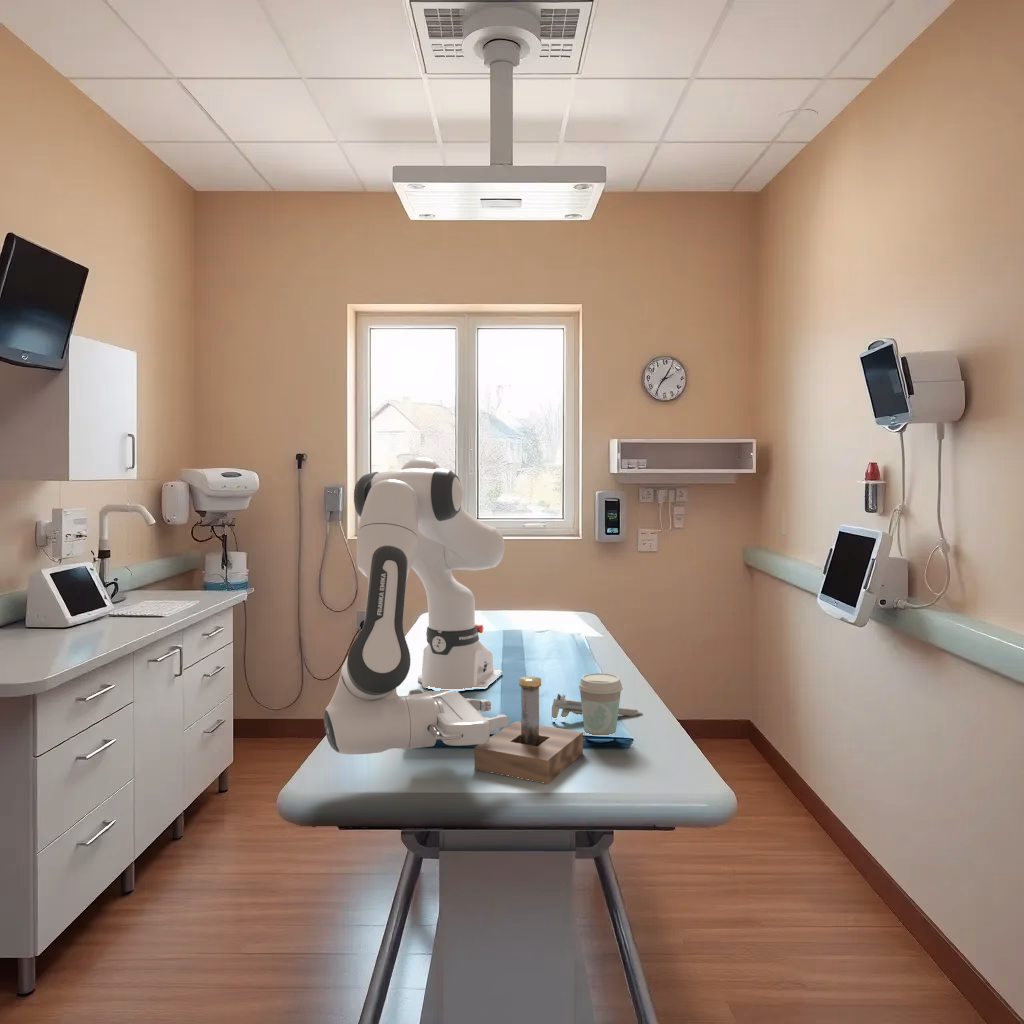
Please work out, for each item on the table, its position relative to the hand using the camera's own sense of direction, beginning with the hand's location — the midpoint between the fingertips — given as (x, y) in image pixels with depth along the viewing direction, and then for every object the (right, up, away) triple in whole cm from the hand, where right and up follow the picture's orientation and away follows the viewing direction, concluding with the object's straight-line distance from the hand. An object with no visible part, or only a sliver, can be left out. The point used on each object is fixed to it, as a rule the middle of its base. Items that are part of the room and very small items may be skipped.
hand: (498, 712), depth 145 cm
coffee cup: (+20, -9, +15) cm, 26 cm away
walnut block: (+6, -10, +3) cm, 11 cm away
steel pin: (+6, -10, +3) cm, 11 cm away
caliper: (+21, -8, +27) cm, 35 cm away
